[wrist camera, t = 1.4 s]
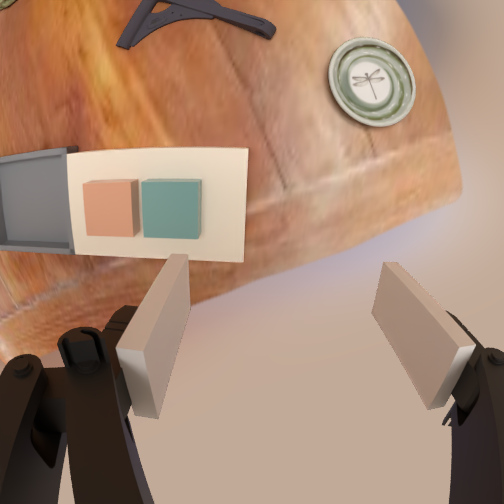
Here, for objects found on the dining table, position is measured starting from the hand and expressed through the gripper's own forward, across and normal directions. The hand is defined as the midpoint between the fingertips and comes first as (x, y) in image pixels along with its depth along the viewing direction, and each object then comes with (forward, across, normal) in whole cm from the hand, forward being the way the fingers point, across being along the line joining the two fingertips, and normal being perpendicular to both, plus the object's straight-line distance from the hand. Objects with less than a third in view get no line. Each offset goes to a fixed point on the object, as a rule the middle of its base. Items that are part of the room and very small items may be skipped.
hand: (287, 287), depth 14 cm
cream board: (+19, -11, 0) cm, 22 cm away
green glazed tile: (+15, -8, 0) cm, 18 cm away
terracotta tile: (+15, -14, 0) cm, 21 cm away
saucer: (+20, +10, +13) cm, 26 cm away
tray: (+19, -28, 0) cm, 34 cm away
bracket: (+20, -7, +20) cm, 30 cm away
